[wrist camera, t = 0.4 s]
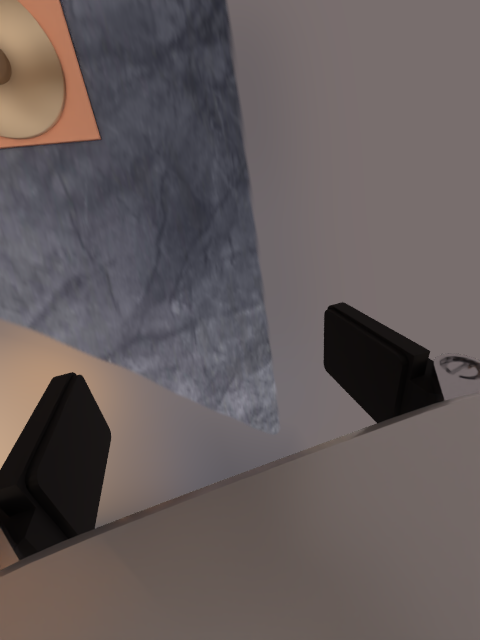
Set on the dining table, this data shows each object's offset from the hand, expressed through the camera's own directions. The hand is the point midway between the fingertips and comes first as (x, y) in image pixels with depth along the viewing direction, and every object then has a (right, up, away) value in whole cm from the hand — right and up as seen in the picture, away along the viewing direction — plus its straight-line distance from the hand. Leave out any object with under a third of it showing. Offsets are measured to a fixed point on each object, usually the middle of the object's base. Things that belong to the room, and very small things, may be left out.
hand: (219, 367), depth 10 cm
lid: (-22, +25, +14) cm, 36 cm away
